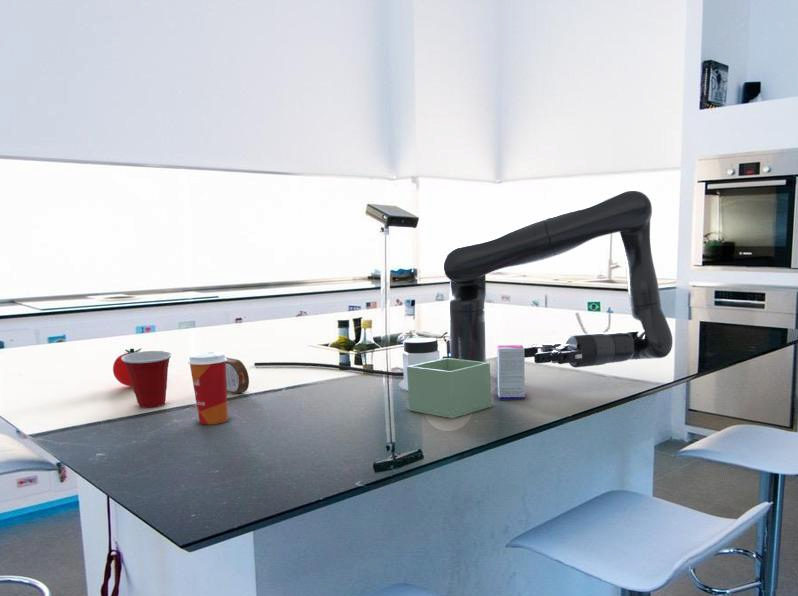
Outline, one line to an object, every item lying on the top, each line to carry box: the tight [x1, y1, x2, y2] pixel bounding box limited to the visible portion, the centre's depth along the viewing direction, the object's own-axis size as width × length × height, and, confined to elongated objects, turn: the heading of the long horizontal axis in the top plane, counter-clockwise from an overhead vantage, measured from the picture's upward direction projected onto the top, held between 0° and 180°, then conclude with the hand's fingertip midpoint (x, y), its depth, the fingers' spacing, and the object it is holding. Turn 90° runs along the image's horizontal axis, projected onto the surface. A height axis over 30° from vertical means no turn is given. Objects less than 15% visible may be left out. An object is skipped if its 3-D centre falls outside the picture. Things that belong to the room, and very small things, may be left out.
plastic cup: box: [121, 350, 172, 408], centre depth 174 cm, size 11×11×12 cm
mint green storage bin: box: [407, 358, 492, 419], centre depth 160 cm, size 12×12×10 cm
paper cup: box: [187, 351, 229, 425], centre depth 156 cm, size 8×8×14 cm
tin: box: [225, 356, 250, 395], centre depth 187 cm, size 15×3×8 cm, turn 47°
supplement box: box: [497, 344, 525, 401], centre depth 168 cm, size 6×6×12 cm
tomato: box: [112, 347, 143, 387], centre depth 199 cm, size 10×10×10 cm
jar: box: [402, 337, 441, 392], centre depth 180 cm, size 9×8×12 cm
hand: (526, 355), depth 169 cm, fingers open, 8 cm apart
